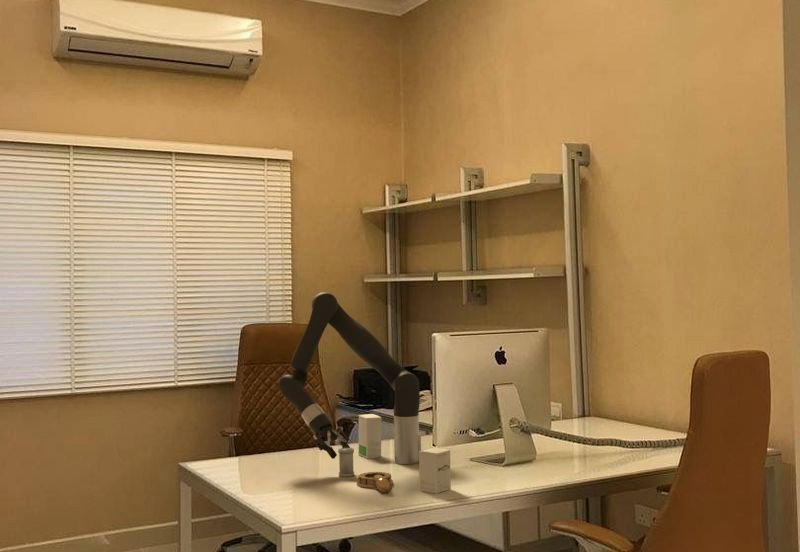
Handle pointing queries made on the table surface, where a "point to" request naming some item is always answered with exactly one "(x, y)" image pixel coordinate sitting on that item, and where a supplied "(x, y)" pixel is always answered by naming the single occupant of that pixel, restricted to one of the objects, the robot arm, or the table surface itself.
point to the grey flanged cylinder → (346, 462)
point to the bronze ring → (376, 481)
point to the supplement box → (434, 470)
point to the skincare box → (370, 435)
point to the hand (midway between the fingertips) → (342, 455)
